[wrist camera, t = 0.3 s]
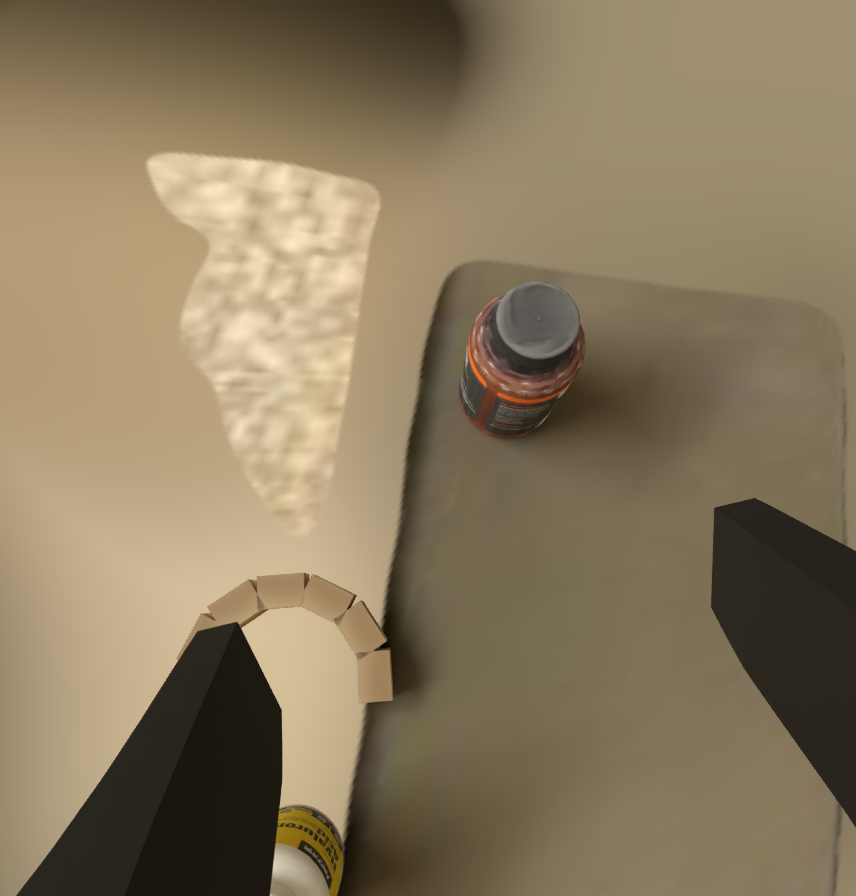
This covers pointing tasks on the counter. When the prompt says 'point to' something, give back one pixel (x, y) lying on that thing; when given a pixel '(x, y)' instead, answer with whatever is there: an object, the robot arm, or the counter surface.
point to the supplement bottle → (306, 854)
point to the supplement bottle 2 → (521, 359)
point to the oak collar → (321, 601)
